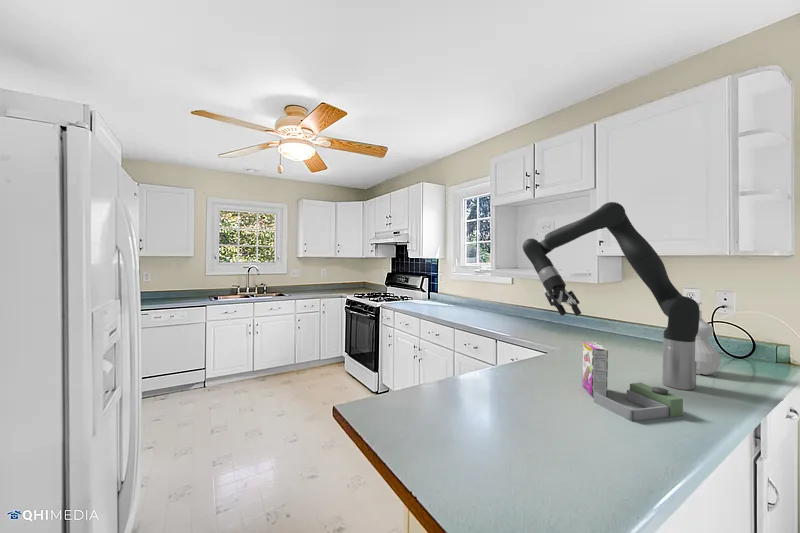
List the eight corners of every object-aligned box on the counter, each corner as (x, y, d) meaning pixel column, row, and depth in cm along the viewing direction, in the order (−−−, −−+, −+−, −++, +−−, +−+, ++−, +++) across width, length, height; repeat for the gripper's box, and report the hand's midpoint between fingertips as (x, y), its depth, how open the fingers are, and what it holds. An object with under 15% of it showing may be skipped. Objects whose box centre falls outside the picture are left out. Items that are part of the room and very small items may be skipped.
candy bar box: (581, 385, 128) (582, 341, 128) (596, 387, 127) (597, 341, 127) (591, 397, 117) (592, 348, 117) (607, 398, 116) (609, 349, 116)
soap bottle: (726, 376, 142) (728, 303, 142) (711, 379, 137) (714, 304, 137) (678, 364, 157) (680, 299, 157) (663, 367, 152) (665, 300, 152)
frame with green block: (640, 397, 118) (641, 379, 118) (682, 415, 104) (683, 395, 104) (594, 402, 113) (594, 383, 113) (631, 421, 100) (632, 400, 100)
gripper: (545, 273, 137) (566, 309, 128) (569, 275, 143) (591, 309, 134) (532, 284, 142) (551, 319, 133) (556, 285, 149) (576, 319, 140)
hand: (571, 314), depth 134 cm, fingers open, 8 cm apart
